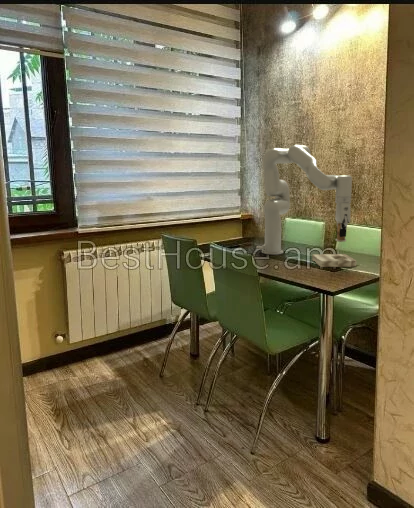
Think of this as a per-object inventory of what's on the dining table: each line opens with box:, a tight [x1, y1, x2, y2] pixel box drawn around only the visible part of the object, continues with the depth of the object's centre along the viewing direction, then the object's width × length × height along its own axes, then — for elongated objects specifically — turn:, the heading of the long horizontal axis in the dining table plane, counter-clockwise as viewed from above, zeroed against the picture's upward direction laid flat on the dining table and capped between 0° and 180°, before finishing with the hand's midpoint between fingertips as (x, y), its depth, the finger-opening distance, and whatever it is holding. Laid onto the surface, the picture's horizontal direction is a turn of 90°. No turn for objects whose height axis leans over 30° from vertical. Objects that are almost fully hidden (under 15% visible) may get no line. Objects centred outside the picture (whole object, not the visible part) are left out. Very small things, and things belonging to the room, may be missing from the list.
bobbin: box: [335, 221, 347, 243], centre depth 211 cm, size 5×5×10 cm
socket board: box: [311, 253, 358, 268], centre depth 214 cm, size 18×16×3 cm
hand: (341, 235), depth 211 cm, fingers closed on bobbin, 4 cm apart
